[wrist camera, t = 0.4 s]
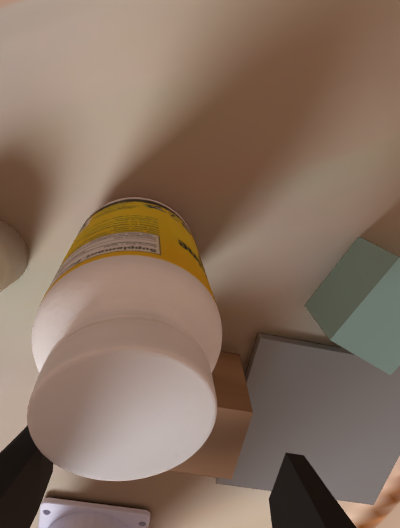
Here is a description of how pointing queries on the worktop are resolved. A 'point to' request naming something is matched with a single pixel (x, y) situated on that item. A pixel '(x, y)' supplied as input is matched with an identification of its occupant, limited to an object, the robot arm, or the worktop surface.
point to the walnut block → (224, 422)
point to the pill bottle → (126, 347)
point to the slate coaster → (319, 418)
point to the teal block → (362, 305)
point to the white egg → (11, 255)
